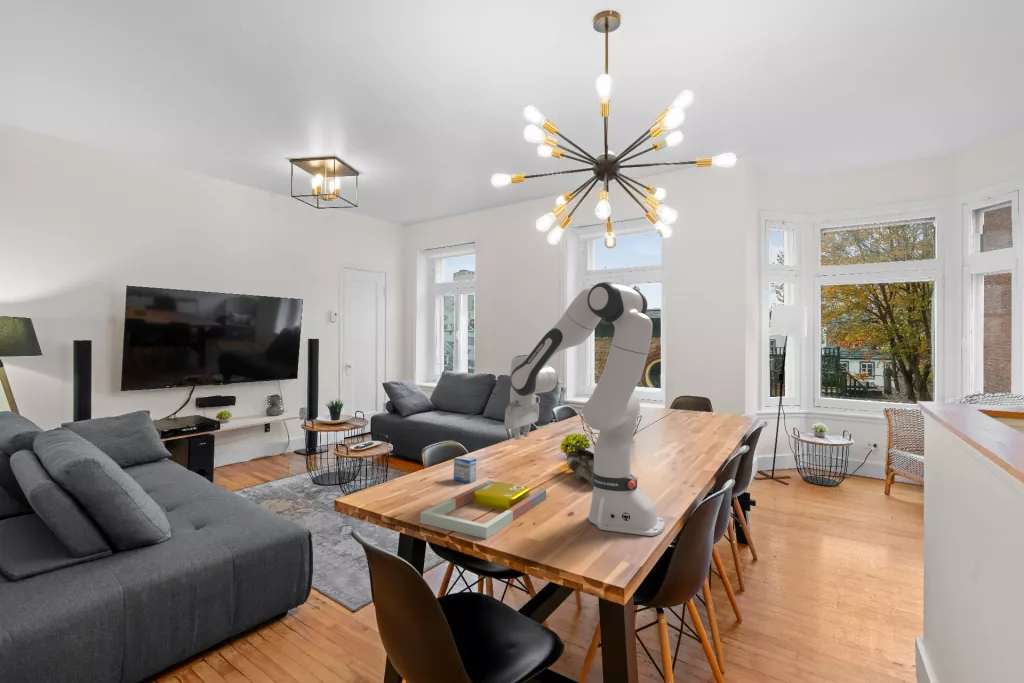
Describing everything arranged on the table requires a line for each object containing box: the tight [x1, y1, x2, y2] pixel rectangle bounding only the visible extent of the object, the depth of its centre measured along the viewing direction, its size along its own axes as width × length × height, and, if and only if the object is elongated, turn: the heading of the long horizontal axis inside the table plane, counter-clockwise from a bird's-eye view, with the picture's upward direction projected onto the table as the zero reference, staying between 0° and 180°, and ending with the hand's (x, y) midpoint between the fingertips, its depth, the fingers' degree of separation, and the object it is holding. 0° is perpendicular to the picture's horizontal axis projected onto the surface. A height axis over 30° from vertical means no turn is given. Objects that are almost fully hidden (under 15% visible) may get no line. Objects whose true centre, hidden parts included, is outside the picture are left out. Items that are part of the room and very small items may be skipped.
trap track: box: [420, 479, 547, 539], centre depth 154 cm, size 23×39×3 cm, turn 151°
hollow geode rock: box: [566, 443, 594, 484], centre depth 191 cm, size 28×13×15 cm
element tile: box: [473, 481, 531, 512], centre depth 163 cm, size 15×15×5 cm
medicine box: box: [453, 456, 477, 484], centre depth 187 cm, size 8×4×9 cm, turn 62°
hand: (521, 437), depth 175 cm, fingers open, 5 cm apart
